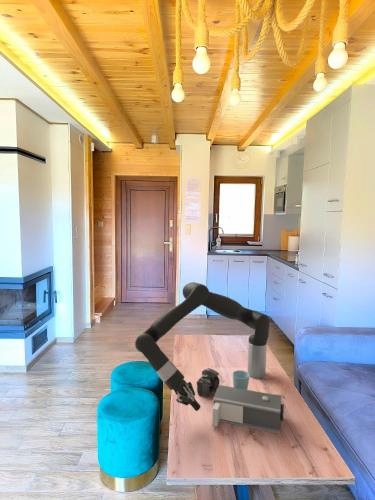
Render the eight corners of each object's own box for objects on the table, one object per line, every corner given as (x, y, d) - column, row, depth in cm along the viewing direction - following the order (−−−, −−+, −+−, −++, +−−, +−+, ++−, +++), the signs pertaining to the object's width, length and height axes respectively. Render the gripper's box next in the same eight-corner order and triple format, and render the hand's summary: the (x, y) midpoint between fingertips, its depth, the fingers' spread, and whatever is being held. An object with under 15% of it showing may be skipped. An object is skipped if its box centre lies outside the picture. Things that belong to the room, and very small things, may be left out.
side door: (215, 416, 129) (216, 400, 128) (242, 422, 125) (243, 405, 125) (212, 425, 123) (212, 408, 122) (240, 431, 120) (241, 414, 119)
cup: (235, 401, 141) (236, 379, 140) (229, 392, 149) (230, 371, 148) (251, 399, 143) (252, 377, 142) (244, 390, 150) (245, 369, 149)
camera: (217, 399, 143) (217, 378, 142) (195, 396, 145) (195, 375, 144) (220, 384, 156) (220, 364, 155) (200, 381, 158) (200, 362, 157)
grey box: (218, 404, 139) (219, 383, 138) (283, 417, 130) (284, 394, 129) (212, 420, 128) (213, 397, 127) (282, 434, 120) (283, 410, 119)
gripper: (170, 377, 121) (200, 413, 118) (181, 362, 133) (209, 395, 131) (157, 387, 123) (187, 424, 120) (169, 372, 135) (196, 404, 133)
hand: (198, 408), depth 125 cm, fingers closed
